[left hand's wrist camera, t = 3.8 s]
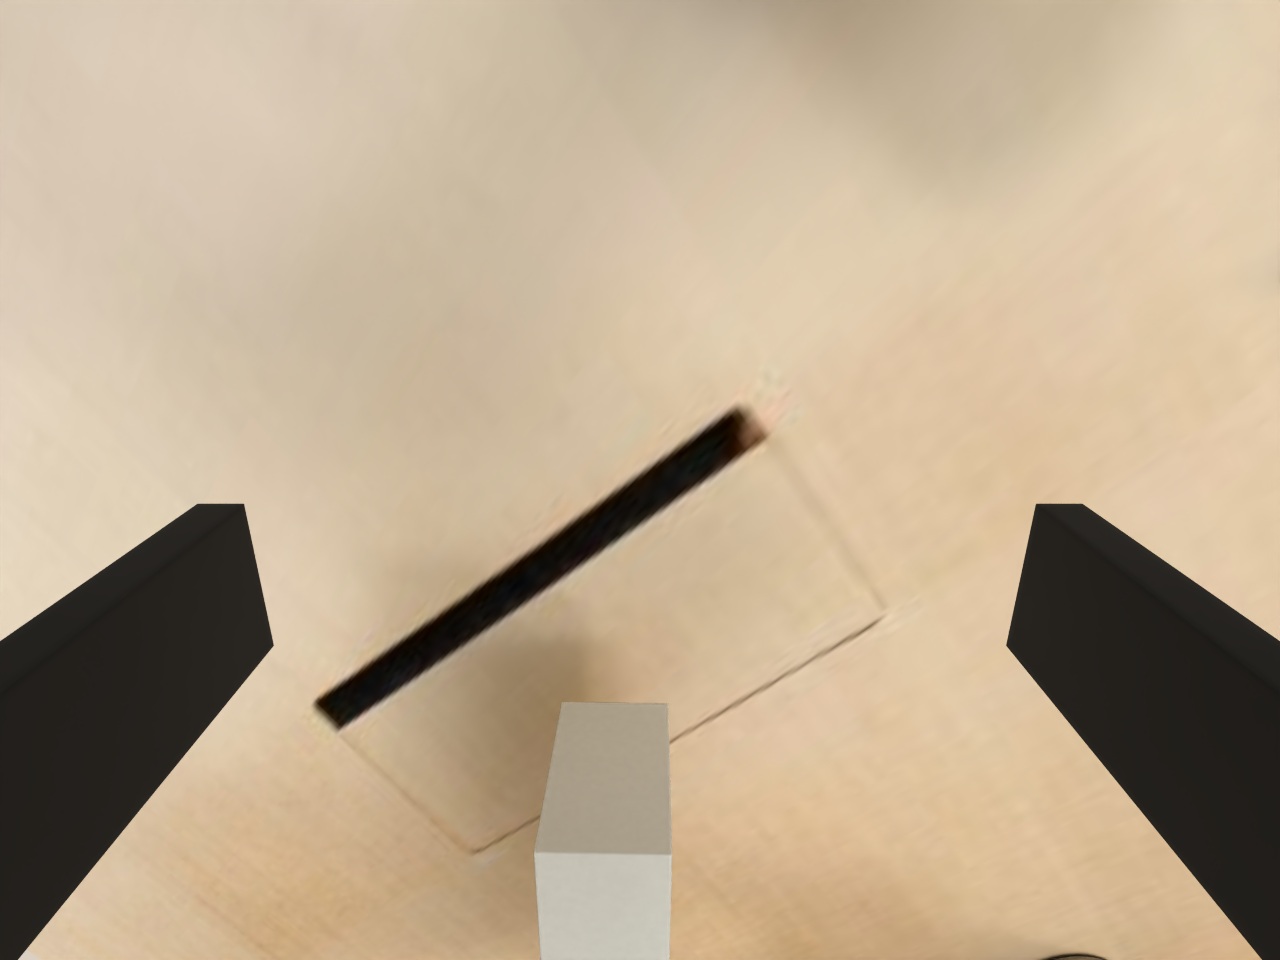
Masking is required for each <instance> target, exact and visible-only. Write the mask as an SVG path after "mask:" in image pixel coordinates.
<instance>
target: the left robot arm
mask: <svg viewBox="0 0 1280 960" xmlns="http://www.w3.org/2000/svg"><path fill="white" fill-rule="evenodd" d="M273 646H274V645H273V640H272V635H271V630H270V626H269V621H268V616H267V611H266V607H265V602H264V597H263V592H262V587H261V583H260V578H259V573H258V568H257V564H256V559H255V554H254V549H253V545H252V540H251V535H250V530H249V526H248V521H247V516H246V511H245V507H244V504H197V505H195V506H194V507H192V508H191V509H190V510H188V511H187V512H185V513H184V514H182V515H181V516H179V517H178V518H177V519H175V520H174V521H172V522H171V523H169V524H168V525H167V526H165V527H164V528H162V529H161V530H159V531H158V532H156V533H155V534H154V535H152V536H151V537H149V538H148V539H146V540H145V541H144V542H142V543H141V544H139V545H138V546H136V547H135V548H133V549H132V550H131V551H129V552H128V553H126V554H125V555H123V556H122V557H121V558H119V559H118V560H116V561H115V562H113V563H112V564H111V565H109V566H108V567H106V568H105V569H103V570H102V571H100V572H99V573H98V574H96V575H95V576H93V577H92V578H90V579H89V580H88V581H86V582H85V583H83V584H82V585H80V586H79V587H77V588H76V589H75V590H73V591H72V592H70V593H69V594H67V595H66V596H65V597H63V598H62V599H60V600H59V601H57V602H56V603H54V604H53V605H52V606H50V607H49V608H47V609H46V610H44V611H43V612H42V613H40V614H39V615H37V616H36V617H34V618H33V619H31V620H30V621H29V622H27V623H26V624H24V625H23V626H21V627H20V628H19V629H17V630H16V631H14V632H13V633H11V634H10V635H8V636H7V637H6V638H4V639H3V640H1V641H0V960H18V959H19V958H20V956H21V955H22V954H23V953H24V951H25V950H26V949H27V948H28V947H29V945H30V944H31V943H32V942H33V940H34V939H35V938H36V937H37V936H38V934H39V933H40V932H41V931H42V929H43V928H44V927H45V926H46V924H47V923H48V922H49V921H50V920H51V918H52V917H53V916H54V915H55V913H56V912H57V911H58V910H59V909H60V907H61V906H62V905H63V904H64V902H65V901H66V900H67V899H68V897H69V896H70V895H71V894H72V893H73V891H74V890H75V889H76V888H77V886H78V885H79V884H80V883H81V882H82V880H83V879H84V878H85V877H86V875H87V874H88V873H89V872H90V870H91V869H92V868H93V867H94V866H95V864H96V863H97V862H98V861H99V859H100V858H101V857H102V856H103V855H104V853H105V852H106V851H107V850H108V848H109V847H110V846H111V845H112V843H113V842H114V841H115V840H116V839H117V837H118V836H119V835H120V834H121V832H122V831H123V830H124V829H125V828H126V826H127V825H128V824H129V823H130V821H131V820H132V819H133V818H134V816H135V815H136V814H137V813H138V812H139V810H140V809H141V808H142V807H143V805H144V804H145V803H146V802H147V801H148V799H149V798H150V797H151V796H152V794H153V793H154V792H155V791H156V789H157V788H158V787H159V786H160V785H161V783H162V782H163V781H164V780H165V778H166V777H167V776H168V775H169V774H170V772H171V771H172V770H173V769H174V767H175V766H176V765H177V764H178V762H179V761H180V760H181V759H182V758H183V756H184V755H185V754H186V753H187V751H188V750H189V749H190V748H191V747H192V745H193V744H194V743H195V742H196V740H197V739H198V738H199V737H200V735H201V734H202V733H203V732H204V731H205V729H206V728H207V727H208V726H209V724H210V723H211V722H212V721H213V720H214V718H215V717H216V716H217V715H218V713H219V712H220V711H221V710H222V708H223V707H224V706H225V705H226V704H227V702H228V701H229V700H230V699H231V697H232V696H233V695H234V694H235V693H236V691H237V690H238V689H239V688H240V686H241V685H242V684H243V683H244V681H245V680H246V679H247V678H248V677H249V675H250V674H251V673H252V672H253V670H254V669H255V668H256V667H257V666H258V664H259V663H260V662H261V661H262V659H263V658H264V657H265V656H266V654H267V653H268V652H269V651H270V650H271V648H272V647H273ZM1006 646H1007V647H1008V648H1009V650H1010V651H1011V652H1012V653H1013V654H1014V656H1015V657H1016V658H1017V659H1018V661H1019V662H1020V663H1021V664H1022V666H1023V667H1024V668H1025V669H1026V670H1027V672H1028V673H1029V674H1030V675H1031V677H1032V678H1033V679H1034V680H1035V681H1036V683H1037V684H1038V685H1039V686H1040V688H1041V689H1042V690H1043V691H1044V693H1045V694H1046V695H1047V696H1048V697H1049V699H1050V700H1051V701H1052V702H1053V704H1054V705H1055V706H1056V707H1057V708H1058V710H1059V711H1060V712H1061V713H1062V715H1063V716H1064V717H1065V718H1066V720H1067V721H1068V722H1069V723H1070V724H1071V726H1072V727H1073V728H1074V729H1075V731H1076V732H1077V733H1078V734H1079V735H1080V737H1081V738H1082V739H1083V740H1084V742H1085V743H1086V744H1087V745H1088V747H1089V748H1090V749H1091V750H1092V751H1093V753H1094V754H1095V755H1096V756H1097V758H1098V759H1099V760H1100V761H1101V762H1102V764H1103V765H1104V766H1105V767H1106V769H1107V770H1108V771H1109V772H1110V774H1111V775H1112V776H1113V777H1114V778H1115V780H1116V781H1117V782H1118V783H1119V785H1120V786H1121V787H1122V788H1123V789H1124V791H1125V792H1126V793H1127V794H1128V796H1129V797H1130V798H1131V799H1132V801H1133V802H1134V803H1135V804H1136V805H1137V807H1138V808H1139V809H1140V810H1141V812H1142V813H1143V814H1144V815H1145V816H1146V818H1147V819H1148V820H1149V821H1150V823H1151V824H1152V825H1153V826H1154V828H1155V829H1156V830H1157V831H1158V832H1159V834H1160V835H1161V836H1162V837H1163V839H1164V840H1165V841H1166V842H1167V843H1168V845H1169V846H1170V847H1171V848H1172V850H1173V851H1174V852H1175V853H1176V855H1177V856H1178V857H1179V858H1180V859H1181V861H1182V862H1183V863H1184V864H1185V866H1186V867H1187V868H1188V869H1189V870H1190V872H1191V873H1192V874H1193V875H1194V877H1195V878H1196V879H1197V880H1198V882H1199V883H1200V884H1201V885H1202V886H1203V888H1204V889H1205V890H1206V891H1207V893H1208V894H1209V895H1210V896H1211V897H1212V899H1213V900H1214V901H1215V902H1216V904H1217V905H1218V906H1219V907H1220V909H1221V910H1222V911H1223V912H1224V913H1225V915H1226V916H1227V917H1228V918H1229V920H1230V921H1231V922H1232V923H1233V925H1234V926H1235V927H1236V928H1237V929H1238V931H1239V932H1240V933H1241V934H1242V936H1243V937H1244V938H1245V939H1246V940H1247V942H1248V943H1249V944H1250V945H1251V947H1252V948H1253V949H1254V950H1255V952H1256V953H1257V954H1258V955H1259V956H1260V958H1261V959H1262V960H1280V641H1279V640H1277V639H1276V638H1274V637H1273V636H1272V635H1270V634H1269V633H1267V632H1266V631H1264V630H1263V629H1261V628H1260V627H1259V626H1257V625H1256V624H1254V623H1253V622H1251V621H1250V620H1249V619H1247V618H1246V617H1244V616H1243V615H1241V614H1240V613H1238V612H1237V611H1236V610H1234V609H1233V608H1231V607H1230V606H1228V605H1227V604H1226V603H1224V602H1223V601H1221V600H1220V599H1218V598H1217V597H1215V596H1214V595H1213V594H1211V593H1210V592H1208V591H1207V590H1205V589H1204V588H1203V587H1201V586H1200V585H1198V584H1197V583H1195V582H1194V581H1192V580H1191V579H1190V578H1188V577H1187V576H1185V575H1184V574H1182V573H1181V572H1180V571H1178V570H1177V569H1175V568H1174V567H1172V566H1171V565H1169V564H1168V563H1167V562H1165V561H1164V560H1162V559H1161V558H1159V557H1158V556H1157V555H1155V554H1154V553H1152V552H1151V551H1149V550H1148V549H1147V548H1145V547H1144V546H1142V545H1141V544H1139V543H1138V542H1136V541H1135V540H1134V539H1132V538H1131V537H1129V536H1128V535H1126V534H1125V533H1124V532H1122V531H1121V530H1119V529H1118V528H1116V527H1115V526H1113V525H1112V524H1111V523H1109V522H1108V521H1106V520H1105V519H1103V518H1102V517H1101V516H1099V515H1098V514H1096V513H1095V512H1093V511H1092V510H1090V509H1089V508H1088V507H1086V506H1085V505H1083V504H1036V507H1035V511H1034V516H1033V521H1032V526H1031V530H1030V535H1029V540H1028V545H1027V549H1026V554H1025V559H1024V564H1023V568H1022V573H1021V578H1020V583H1019V587H1018V592H1017V597H1016V602H1015V607H1014V611H1013V616H1012V621H1011V626H1010V630H1009V635H1008V640H1007V645H1006Z"/></svg>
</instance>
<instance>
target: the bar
mask: <svg viewBox="0 0 1280 960" xmlns="http://www.w3.org/2000/svg"><path fill="white" fill-rule="evenodd" d="M534 865H535V881H536V897H537V913H538V929H539V945H540V960H669V955H670V918H671V880H672V830H671V790H670V750H669V711H668V704H667V703H607V702H562V704H561V709H560V715H559V720H558V725H557V731H556V736H555V741H554V747H553V752H552V757H551V763H550V768H549V774H548V779H547V784H546V790H545V795H544V800H543V806H542V811H541V816H540V822H539V827H538V832H537V838H536V843H535V849H534Z"/></svg>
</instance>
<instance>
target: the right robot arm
mask: <svg viewBox="0 0 1280 960" xmlns="http://www.w3.org/2000/svg"><path fill="white" fill-rule="evenodd" d="M1054 960H1102V959H1098V958H1093V957H1083V956H1074V957H1065V958H1059V959H1054Z"/></svg>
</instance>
